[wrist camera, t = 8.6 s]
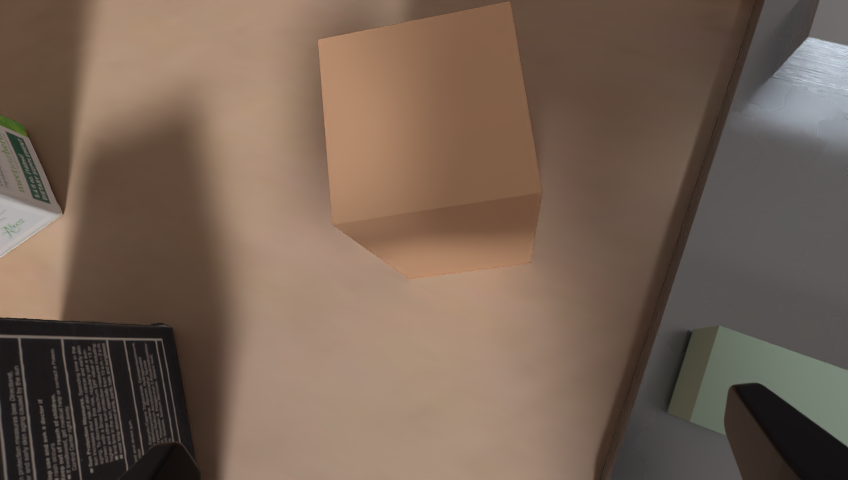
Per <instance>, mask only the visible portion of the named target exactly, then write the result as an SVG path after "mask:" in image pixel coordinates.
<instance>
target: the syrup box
mask: <svg viewBox="0 0 848 480" xmlns="http://www.w3.org/2000/svg"><path fill="white" fill-rule="evenodd" d="M61 215H62V210H61V208H60V206H59V204H58V203H57V202H56V199H55V197H54V194H53V192H52V190H51V188H50V184H49V182H48V179H47V177H46V175H45V173H44V170H43V168H42V166H41V164H40V162H39V159H38V157H37V155H36V153H35V150H34V148H33V146H32V144H31V142H30V139H29V137H28V136H27V133H26V131H25V128H24V126H23V125H22V124H20V123H18V122H16V121H13V120H11V119H9V118H6V117H4V116H2V115H0V258H1V257H2V256H4V255H5V254H7V253H8V252H10V251H11V250H12V249H14V248H15V247H17V246H18V245H20V244H21V243H23V242H24V241H26V240H27V239H28V238H30V237H31V236H33V235H34V234H36V233H37V232H39V231H40V230H41V229H43V228H44V227H46V226H47V225H49V224H50V223H51V222H53V221H54V220H56V219H57V218H58V217H60V216H61Z"/></svg>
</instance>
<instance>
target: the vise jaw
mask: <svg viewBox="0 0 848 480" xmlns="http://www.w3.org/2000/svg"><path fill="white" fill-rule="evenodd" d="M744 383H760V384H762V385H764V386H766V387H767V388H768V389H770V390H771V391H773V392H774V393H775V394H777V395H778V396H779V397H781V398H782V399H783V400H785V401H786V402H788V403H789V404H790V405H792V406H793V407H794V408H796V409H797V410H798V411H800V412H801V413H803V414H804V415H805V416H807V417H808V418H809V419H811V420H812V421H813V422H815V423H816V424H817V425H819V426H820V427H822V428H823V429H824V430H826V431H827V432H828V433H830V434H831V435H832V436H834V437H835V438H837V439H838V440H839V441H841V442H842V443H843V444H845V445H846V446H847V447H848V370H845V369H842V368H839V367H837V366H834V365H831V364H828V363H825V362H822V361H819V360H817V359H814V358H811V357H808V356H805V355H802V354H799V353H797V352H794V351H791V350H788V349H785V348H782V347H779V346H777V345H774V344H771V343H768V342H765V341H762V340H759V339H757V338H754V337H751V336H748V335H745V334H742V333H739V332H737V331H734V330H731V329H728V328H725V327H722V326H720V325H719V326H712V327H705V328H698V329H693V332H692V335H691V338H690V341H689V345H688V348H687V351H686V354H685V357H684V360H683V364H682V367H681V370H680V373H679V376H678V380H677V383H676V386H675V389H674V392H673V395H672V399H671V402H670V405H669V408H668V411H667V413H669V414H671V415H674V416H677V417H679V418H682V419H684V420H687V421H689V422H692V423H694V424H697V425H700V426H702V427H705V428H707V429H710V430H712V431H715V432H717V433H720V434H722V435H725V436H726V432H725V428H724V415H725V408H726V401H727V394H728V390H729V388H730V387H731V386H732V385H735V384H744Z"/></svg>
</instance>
